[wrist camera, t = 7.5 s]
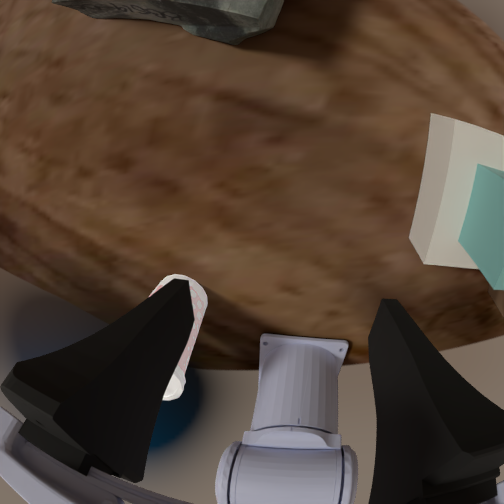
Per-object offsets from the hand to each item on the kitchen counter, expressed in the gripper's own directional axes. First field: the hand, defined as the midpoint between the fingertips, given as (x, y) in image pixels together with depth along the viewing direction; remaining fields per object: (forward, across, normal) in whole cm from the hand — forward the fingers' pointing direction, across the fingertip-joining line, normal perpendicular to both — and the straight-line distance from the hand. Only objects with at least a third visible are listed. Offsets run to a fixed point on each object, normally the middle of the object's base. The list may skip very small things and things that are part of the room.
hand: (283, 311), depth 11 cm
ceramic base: (+10, -13, -3) cm, 17 cm away
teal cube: (+7, -13, -3) cm, 15 cm away
